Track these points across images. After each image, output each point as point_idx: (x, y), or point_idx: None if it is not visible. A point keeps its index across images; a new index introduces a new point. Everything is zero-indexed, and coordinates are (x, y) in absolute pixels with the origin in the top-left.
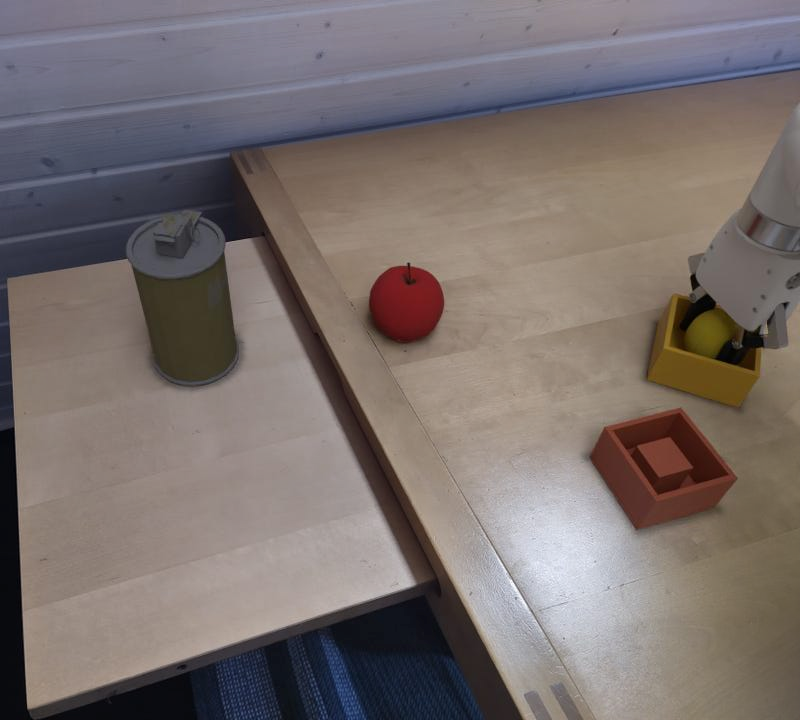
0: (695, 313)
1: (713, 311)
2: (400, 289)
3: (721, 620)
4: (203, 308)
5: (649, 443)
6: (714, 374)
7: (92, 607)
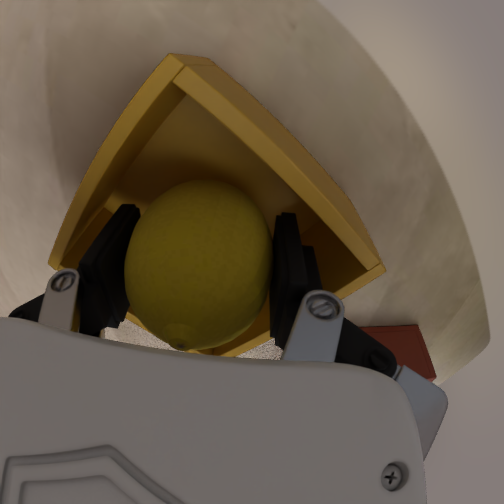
0: (125, 299)
1: (149, 330)
2: None
3: (452, 354)
4: None
5: None
6: None
7: None
